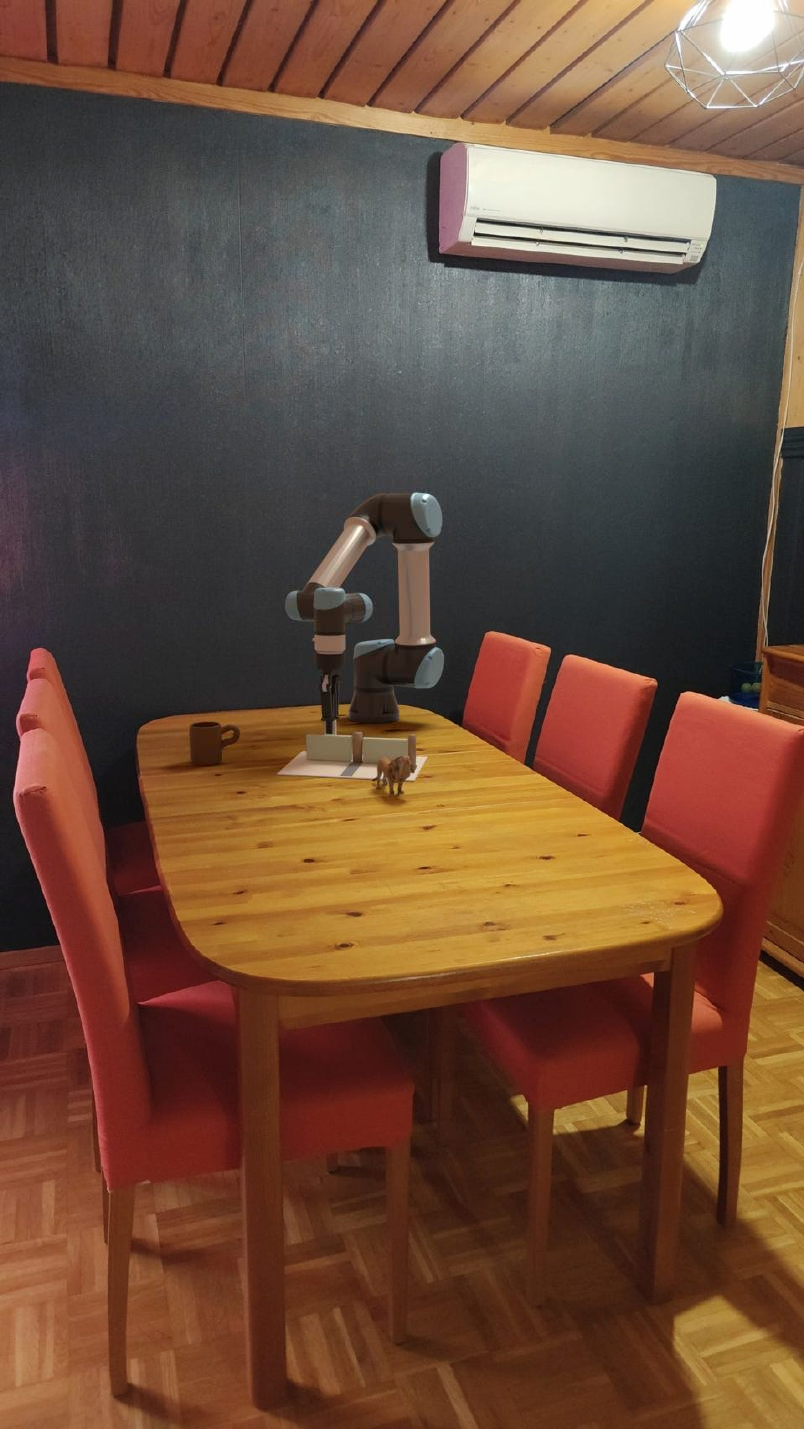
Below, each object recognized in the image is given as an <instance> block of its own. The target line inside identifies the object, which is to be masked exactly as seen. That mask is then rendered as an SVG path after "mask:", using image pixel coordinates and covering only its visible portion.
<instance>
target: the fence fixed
mask: <svg viewBox="0 0 804 1429" xmlns="http://www.w3.org/2000/svg"><path fill="white" fill-rule="evenodd" d="M351 733H352V734H351V735H352V753H353V762H354V763H361V762H363V763H378V761H379V760H380V759H382V758H388V759H389V760H390V761H392V760H393V759H396V758H397V757H400V756H406V755H407V756H409V757H410V758H409V759H410V761H412V762H413V763H414V764H415V765H416V756H417V734H415V733H409V734H408V735H407V738H392V737H391V738H389V737H370V736H369V737H367V736H366V737H365V736H363V732H362V731H353V732H351ZM362 754H363V759H362Z"/></svg>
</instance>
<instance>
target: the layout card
mask: <svg viewBox="0 0 804 1429" xmlns="http://www.w3.org/2000/svg"><path fill="white" fill-rule="evenodd" d="M428 758H429V756H417V755H416V765H417V768H416V770H415V773H414V774H413V773H411V774H410V777H408V778H407V779H406V780H405V782H409V783H410V782H412V783H414V782H415V781H416V780H417V778H418V776H419V774H420V772H421V770H422V768H423V767H424V765H425V764H426V761H427V760H428ZM362 759H363V753H362ZM377 764H378V763H363V762H361V763H354V762H353V752H352V760H351V761H335V760H313V759H306V750H304V751H301V752H299V753H298V754H297V755H296V756H295V757H294V758H293V759H292V760H290V762H289V763H288V764H286V765H285V766H283V768H281V770H280V771H278V772H277V773H276V776H287V777H289V776H291V777H308V778H309V777H310V778H311V777H312V778H313V777H314V778H327V779H328V778H330V779H332V778H333V779H350V780H352V779H353V780H367V781H368V780H371V781H372V779H374V778H376V777H377ZM382 779H383V772H382V775H381V778H380V781H382ZM386 781H388V779H387V778H386Z"/></svg>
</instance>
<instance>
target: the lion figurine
mask: <svg viewBox="0 0 804 1429" xmlns="http://www.w3.org/2000/svg"><path fill="white" fill-rule="evenodd" d="M409 758H410V757H409V756H407V755H406V756H400V757H397V758H396V759H393V760H392V761H390V760H389V759H388V758H382V759H380V760H379V761H378V764H377V777H376V778H374V779H372V780H371V781H372V782H376V787H375V789H376V790H381V789H382V786H381V781H382V784H383V785H388V789H389V790H388V791H389V793H388V795H389V797H396V794H395V790H394V787H395V784H397V794H400V795H404V793H405V790H402V788H403V783H405V782H406V781H405V780H406V779H407V778H408V777H410V774H411V773H413V774H414V773H415V770H416V768H417V765H415V764H414V763H413V762H412V761H410V759H409ZM382 772H383V779H382V780H380V778H381V775H382ZM386 778H387V779H388V780H386Z"/></svg>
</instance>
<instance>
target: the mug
mask: <svg viewBox="0 0 804 1429" xmlns="http://www.w3.org/2000/svg"><path fill="white" fill-rule="evenodd" d="M221 725H222V724H221V723H220V722H218V721H198V722H192V723H191V724H190V725H189V731H188V734H189V754H190V756H189V757H190V762H191V764H192V765H195V766H198V765H199V767H200V766H201V767H202V766H203V767H206V766H207V767H208V766H209V767H211V766H216V765H219V764H220V763H222V761H223V749H224V748H226V747H228V746H231V745H234V744H236V743H237V742H238V741H239V739H240V736H241V730H240V728H239V727H238V726H237V725H234V724H231V723H230V724H227V725H225V726H221ZM230 731H231V732H233V735H232V736H231V737H229V738H224V739H223V734H226V733H228V732H230Z"/></svg>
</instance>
